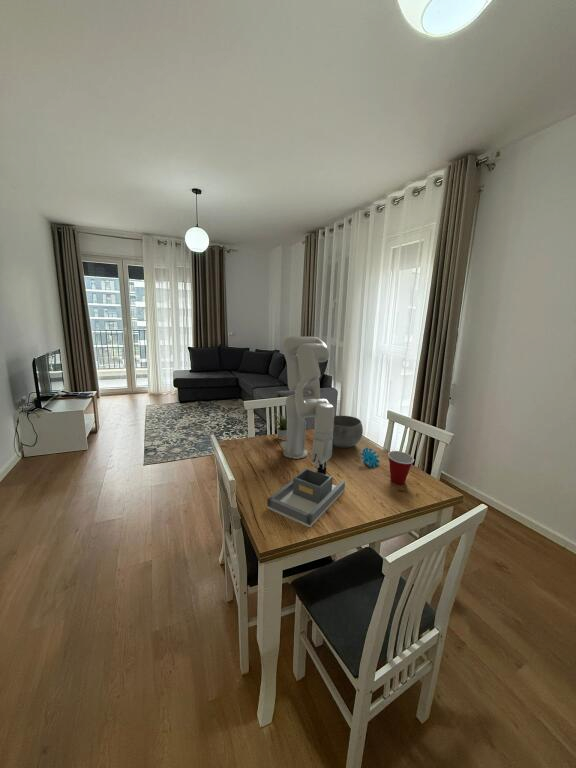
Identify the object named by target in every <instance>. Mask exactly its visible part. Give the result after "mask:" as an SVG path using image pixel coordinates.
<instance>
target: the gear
mask: <svg viewBox="0 0 576 768" xmlns="http://www.w3.org/2000/svg"><path fill="white" fill-rule="evenodd" d="M361 451H362V452H360V454H361V456H362V457H361V460H362V461H363V463H364V464H365V465H367V464H368V465H367V466H368V467H369V468H371V467H372V468H374V469H375V468H376V467H377V466H379V463H380V460H379V458H380V456H381V455H380V454H379V453H378V454H377V452H376V451H375V450H373V448H369V447H365V448H363V449H362V450H361ZM376 454H377V455H376Z"/></svg>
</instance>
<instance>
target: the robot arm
mask: <svg viewBox="0 0 576 768" xmlns="http://www.w3.org/2000/svg"><path fill="white" fill-rule="evenodd" d="M282 353H283V355H284V358H285V361H286V366H287V367H286V371H287V374H286V375H287V387H288V389H289V391H292V392H294V393H293V394H290V395H288V396H287V397H286V399H285V409H286V411H285V412H286V415H287V419H286V420H287V440H286V441H281V445H280V447H281V448H283V451H282V452H283V456H285V457H286V458H288V459H292V458H293V460H299V459H300V458H301V459H303V458H306V457H307V456H308V454H309V453H308V450H307V449H306V424H307V423H306V419H307V418H314V430H313V431H314V432H313V433H314V434H313V442H312V447H311V456H310V458H311V459H310V461H311V463H314V462H315V463H314V468H316V469H317V472H320V473H323V474H326V475H327V468H328V460H329V459H331V458H332V455H333V444H332V439H333V427H334V416H335V406H334V405H333V404H331V403H330V401H329V400H328V399H326V398H321V388H320V387H321V385H320V378H321V377H322V376H321V370H320V366H319V363H324V362H327V361H328V359H329V358H330V350H329V348H328V346H327V344H326V343H325V342H324V341H323V340H321V339H320V337H316V336H295V335H294V336H288V337H286V338H285V339H284V340H283V342H282ZM303 392H308V393H303Z"/></svg>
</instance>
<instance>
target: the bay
mask: <svg viewBox="0 0 576 768" xmlns="http://www.w3.org/2000/svg"><path fill="white" fill-rule="evenodd" d="M345 487H346V481H345V480H341V481H340V482H339V483H338V484H336V485H335V484H333V483H332V491H331V492H330V493H329V494H328V495H327V496H326V497H325V498H324V499H323V500H322V501H321V502H320V503H319V504H318V503H315V502H313V501H310V500H308V499H305V498H303V497H300V496H298V495H295V494H293V479H291V481H289V482H288V483H287V484H285V485H284V486H282V488H280V489H279V490H277V491H276V492H274V493H273V494H272V495H270V496H269V497H268V498H267V509H268V510H271V511H272V512H275V513H277V514H279V515H280V516H282V517H283V516H284V517H285V518H287V519H290V520H292V521H294V522H296V523H298V522H299V524H300V523H301V524H300V525H303V526H306V527H307V528H309V527H310V528H311V527H312V526H313V525H314V524H316V522H317V521H318V520H319V519H320V518H321V516H322V515H323V514H325V512H326V511H327V510H328V509H329V508H330V507H331V506H332V505H333V504H334V503H335V502H336V500H337V499H338V498H339V497H340V496H341V495H342V494H343V493H345V492H344V491H345Z"/></svg>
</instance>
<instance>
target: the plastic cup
mask: <svg viewBox="0 0 576 768" xmlns="http://www.w3.org/2000/svg"><path fill="white" fill-rule="evenodd" d="M387 456H388V461H389V475H390V482H392V483H393V484H395V485H404V484H405V483H406V481H407V477H408V474H409V472H410V468H411V466H412V464H413V463H414V461H415V459H414V457H413V456H412V455H410V454H409V453H407V452H404V451H399V450H391V451H389V452H387Z"/></svg>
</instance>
